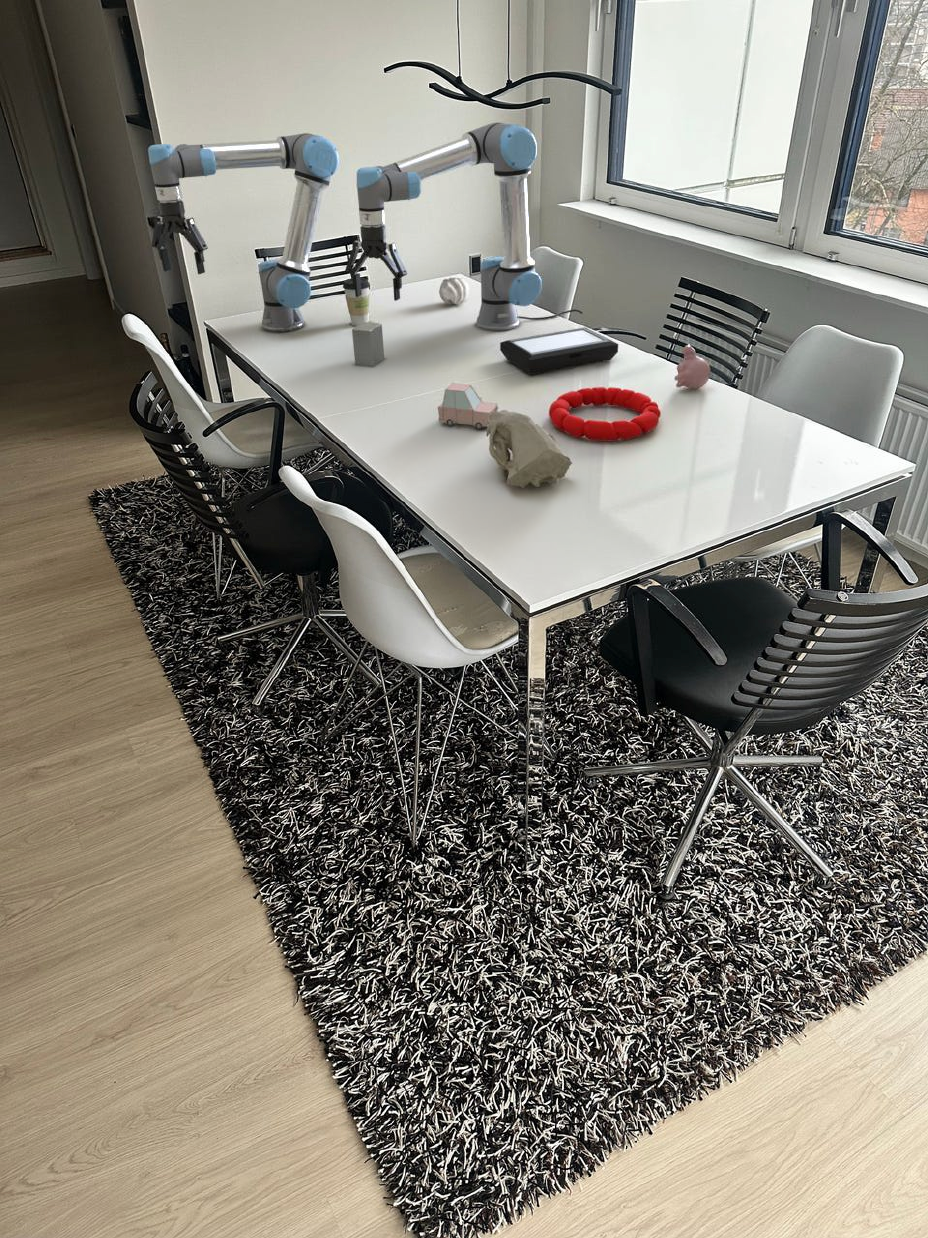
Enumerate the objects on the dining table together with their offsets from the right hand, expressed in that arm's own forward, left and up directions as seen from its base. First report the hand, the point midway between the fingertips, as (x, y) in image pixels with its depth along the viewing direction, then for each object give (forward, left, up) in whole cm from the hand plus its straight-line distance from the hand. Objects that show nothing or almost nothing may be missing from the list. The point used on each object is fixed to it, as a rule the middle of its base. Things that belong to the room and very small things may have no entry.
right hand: (377, 297), depth 280 cm
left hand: (+39, -53, +6) cm, 66 cm away
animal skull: (+25, +91, -20) cm, 97 cm away
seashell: (-60, -34, -20) cm, 72 cm away
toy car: (+14, +60, -20) cm, 65 cm away
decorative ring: (-13, +85, -20) cm, 88 cm away
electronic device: (-41, +40, -20) cm, 61 cm away
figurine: (-50, +86, -20) cm, 101 cm away
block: (+3, -3, -20) cm, 21 cm away
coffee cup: (-19, -40, -20) cm, 49 cm away
